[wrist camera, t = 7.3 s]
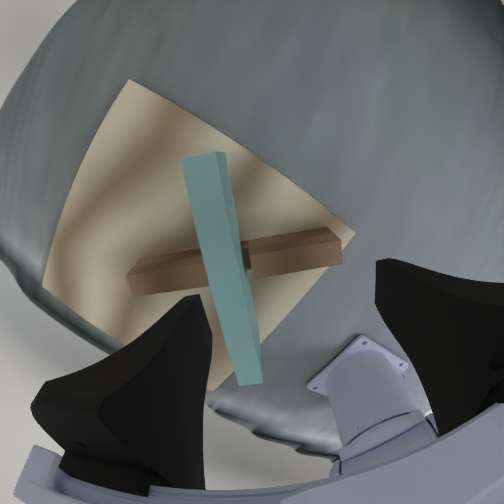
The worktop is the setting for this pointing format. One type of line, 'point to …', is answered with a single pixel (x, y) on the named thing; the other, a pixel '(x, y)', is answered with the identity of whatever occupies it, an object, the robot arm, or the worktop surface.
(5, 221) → the worktop surface
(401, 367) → the robot arm
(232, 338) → the teal bar
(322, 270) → the ash board
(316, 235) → the brown notched bar
